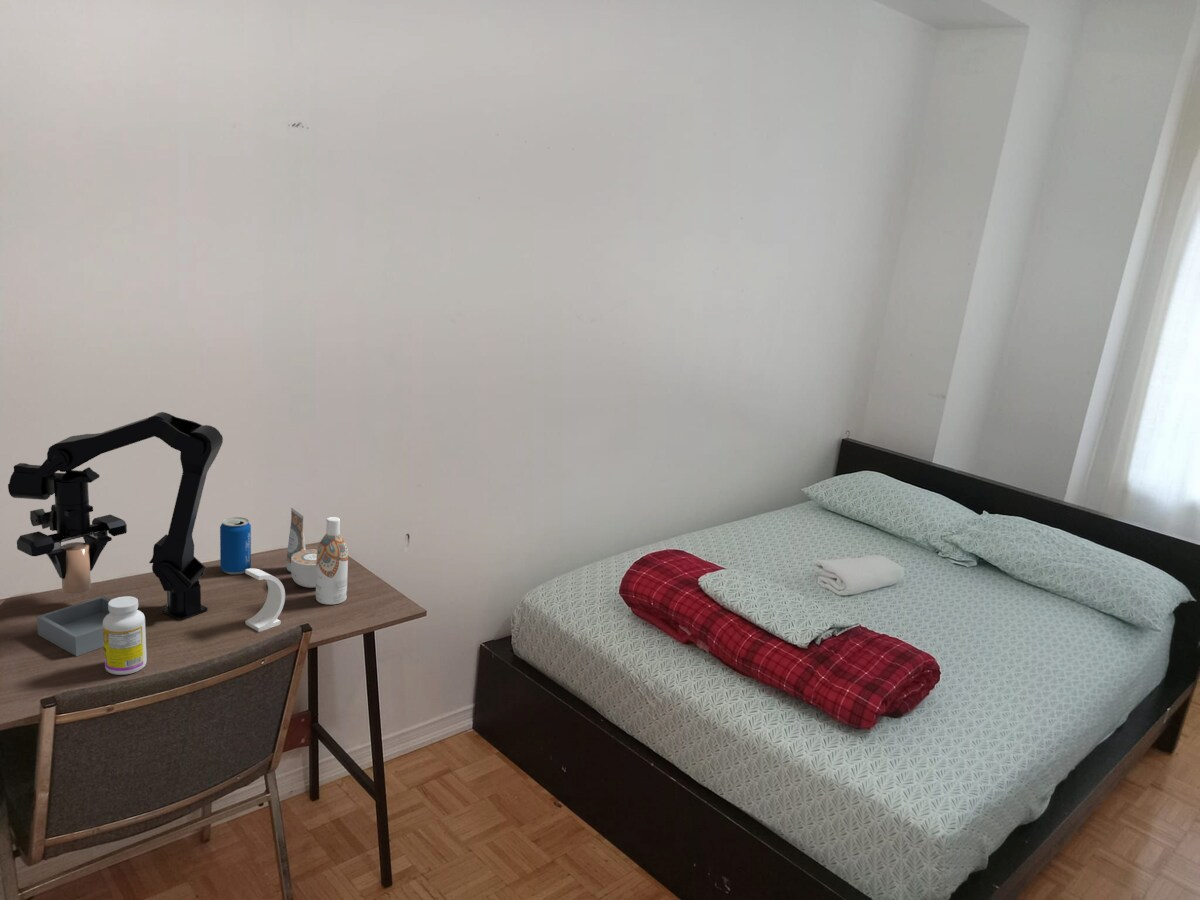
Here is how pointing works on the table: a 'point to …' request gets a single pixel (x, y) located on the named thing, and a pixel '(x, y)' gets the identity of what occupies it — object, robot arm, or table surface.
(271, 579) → the headphone stand
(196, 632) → the table surface
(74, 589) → the cup
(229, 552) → the beverage can
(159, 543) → the robot arm
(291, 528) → the cosmetic set
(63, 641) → the tray
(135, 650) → the supplement bottle
